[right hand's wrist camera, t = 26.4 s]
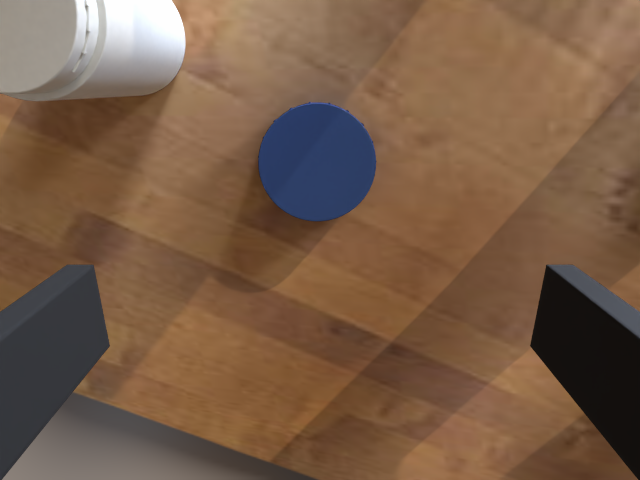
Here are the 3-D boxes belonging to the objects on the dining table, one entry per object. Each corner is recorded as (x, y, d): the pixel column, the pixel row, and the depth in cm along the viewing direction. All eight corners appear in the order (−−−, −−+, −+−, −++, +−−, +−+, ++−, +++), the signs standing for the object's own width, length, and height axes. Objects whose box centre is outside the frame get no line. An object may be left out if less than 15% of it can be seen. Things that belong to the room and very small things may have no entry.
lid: (276, 224, 39) (273, 232, 37) (248, 115, 36) (243, 117, 33) (381, 202, 38) (384, 209, 36) (362, 90, 35) (365, 90, 33)
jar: (171, -36, 32) (50, -135, 18) (196, 89, 35) (109, 91, 21) (56, -21, 32) (-154, -106, 18) (90, 101, 35) (-67, 112, 21)
